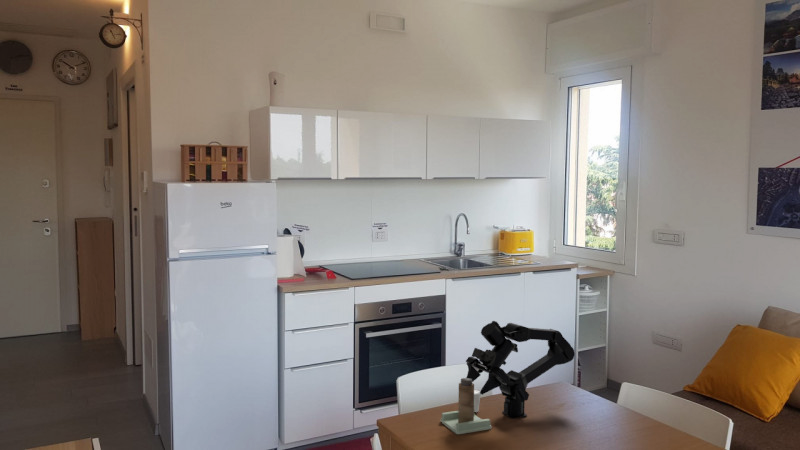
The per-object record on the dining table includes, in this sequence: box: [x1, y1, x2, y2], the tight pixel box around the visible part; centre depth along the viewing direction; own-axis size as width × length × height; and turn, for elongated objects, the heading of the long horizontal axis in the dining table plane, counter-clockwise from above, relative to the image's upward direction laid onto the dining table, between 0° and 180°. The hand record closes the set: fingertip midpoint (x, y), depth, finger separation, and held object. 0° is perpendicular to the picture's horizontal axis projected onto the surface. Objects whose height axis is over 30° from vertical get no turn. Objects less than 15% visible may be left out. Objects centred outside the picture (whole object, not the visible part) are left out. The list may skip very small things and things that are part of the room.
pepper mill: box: [457, 377, 475, 423], centre depth 207 cm, size 5×5×15 cm
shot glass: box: [474, 388, 482, 413], centre depth 222 cm, size 7×7×7 cm
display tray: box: [439, 410, 493, 435], centre depth 207 cm, size 13×12×3 cm
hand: (472, 389), depth 208 cm, fingers open, 9 cm apart
